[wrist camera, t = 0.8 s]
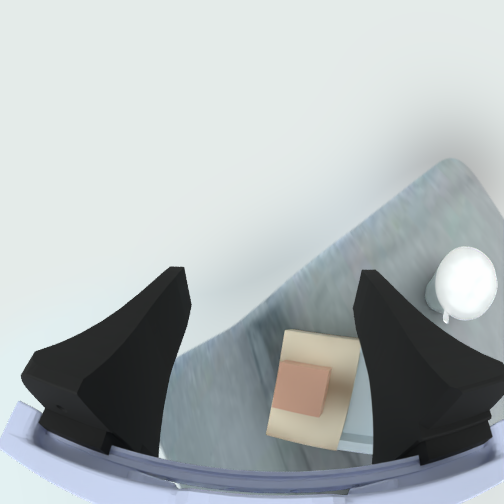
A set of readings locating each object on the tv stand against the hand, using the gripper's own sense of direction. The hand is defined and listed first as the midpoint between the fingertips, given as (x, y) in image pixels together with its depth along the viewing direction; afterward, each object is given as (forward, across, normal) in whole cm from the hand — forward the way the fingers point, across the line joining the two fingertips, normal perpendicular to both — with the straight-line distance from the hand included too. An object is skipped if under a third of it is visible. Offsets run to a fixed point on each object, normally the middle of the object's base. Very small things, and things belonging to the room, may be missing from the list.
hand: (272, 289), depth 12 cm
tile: (+4, -3, +14) cm, 15 cm away
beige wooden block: (+5, -4, +16) cm, 17 cm away
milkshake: (+8, -15, +8) cm, 18 cm away
